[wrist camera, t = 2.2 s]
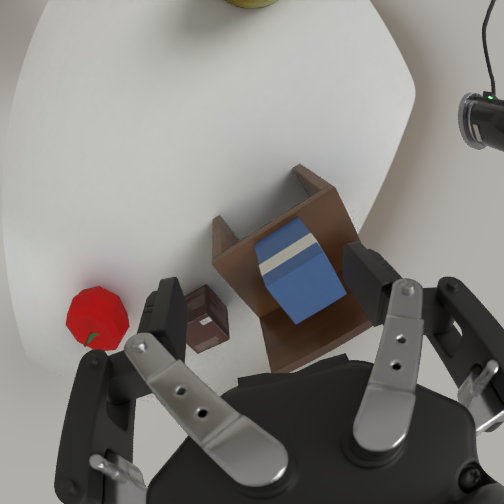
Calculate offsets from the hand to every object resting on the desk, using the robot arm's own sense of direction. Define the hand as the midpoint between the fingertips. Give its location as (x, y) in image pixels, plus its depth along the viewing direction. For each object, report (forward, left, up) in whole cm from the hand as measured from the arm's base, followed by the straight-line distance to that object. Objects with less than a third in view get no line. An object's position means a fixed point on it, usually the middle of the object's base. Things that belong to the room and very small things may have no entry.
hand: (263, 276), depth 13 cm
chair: (+6, +7, -25) cm, 26 cm away
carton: (+4, +6, -13) cm, 15 cm away
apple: (+25, -18, -25) cm, 39 cm away
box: (+22, -1, -25) cm, 33 cm away
